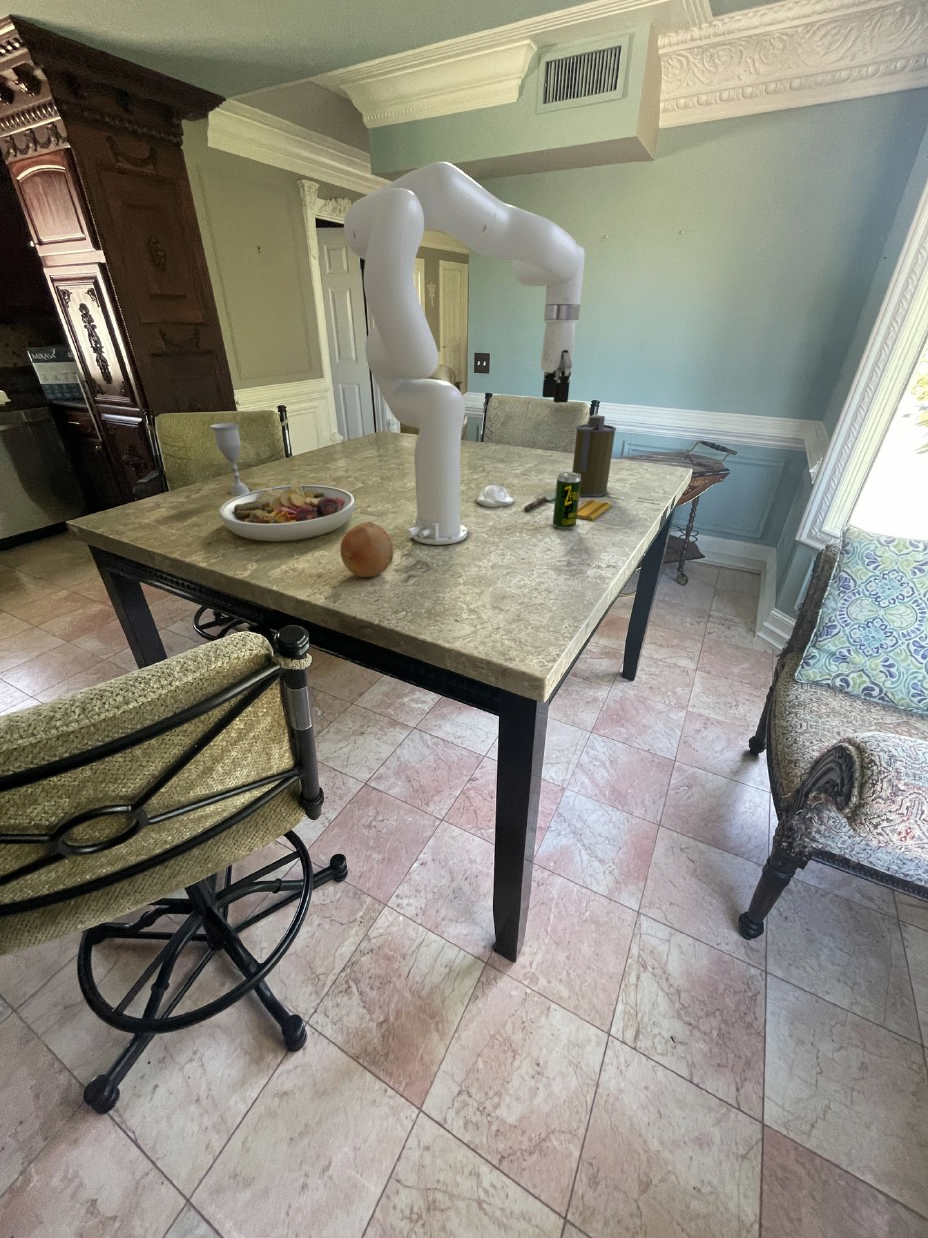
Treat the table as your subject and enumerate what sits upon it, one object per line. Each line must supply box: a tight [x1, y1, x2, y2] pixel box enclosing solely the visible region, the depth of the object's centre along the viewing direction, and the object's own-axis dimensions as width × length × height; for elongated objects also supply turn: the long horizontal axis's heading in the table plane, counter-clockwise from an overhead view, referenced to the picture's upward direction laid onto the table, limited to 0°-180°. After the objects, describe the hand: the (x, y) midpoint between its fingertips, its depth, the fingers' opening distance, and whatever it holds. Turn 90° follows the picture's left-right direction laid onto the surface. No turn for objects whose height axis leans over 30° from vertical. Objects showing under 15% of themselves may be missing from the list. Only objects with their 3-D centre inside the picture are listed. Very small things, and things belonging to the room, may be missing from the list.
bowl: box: [219, 484, 356, 542], centre depth 118 cm, size 30×30×8 cm
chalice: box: [210, 422, 251, 496], centre depth 137 cm, size 7×7×18 cm
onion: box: [340, 521, 394, 579], centre depth 92 cm, size 10×10×10 cm
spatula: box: [523, 491, 556, 512], centre depth 132 cm, size 17×4×1 cm, turn 146°
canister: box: [571, 415, 617, 498], centre depth 137 cm, size 11×10×20 cm
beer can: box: [552, 471, 581, 531], centre depth 115 cm, size 5×5×12 cm
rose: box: [476, 484, 514, 508], centre depth 133 cm, size 10×4×10 cm
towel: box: [577, 499, 612, 521], centre depth 127 cm, size 13×6×1 cm, turn 146°
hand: (554, 399), depth 119 cm, fingers open, 9 cm apart
